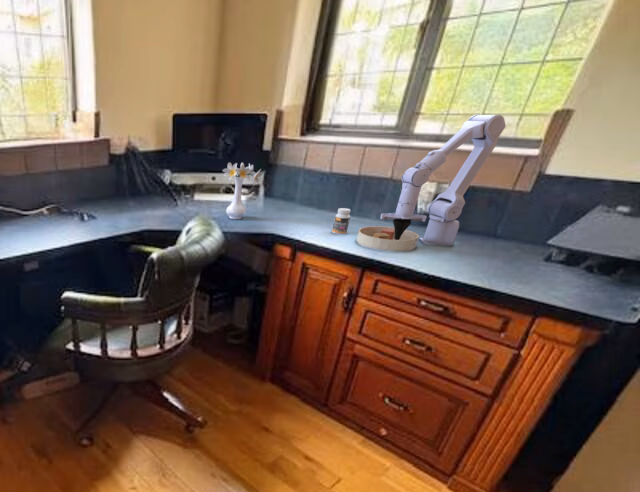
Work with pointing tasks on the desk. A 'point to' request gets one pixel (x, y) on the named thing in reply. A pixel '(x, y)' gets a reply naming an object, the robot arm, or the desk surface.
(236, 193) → the flower vase
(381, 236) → the beech block
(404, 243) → the bowl
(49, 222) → the desk surface
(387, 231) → the terracotta block
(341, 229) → the pill bottle
